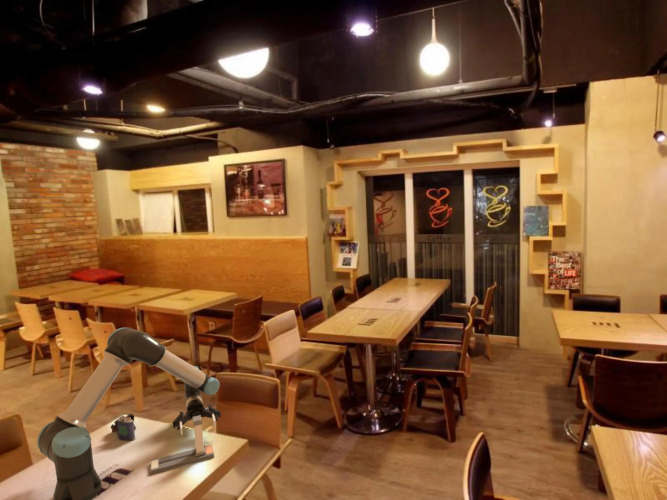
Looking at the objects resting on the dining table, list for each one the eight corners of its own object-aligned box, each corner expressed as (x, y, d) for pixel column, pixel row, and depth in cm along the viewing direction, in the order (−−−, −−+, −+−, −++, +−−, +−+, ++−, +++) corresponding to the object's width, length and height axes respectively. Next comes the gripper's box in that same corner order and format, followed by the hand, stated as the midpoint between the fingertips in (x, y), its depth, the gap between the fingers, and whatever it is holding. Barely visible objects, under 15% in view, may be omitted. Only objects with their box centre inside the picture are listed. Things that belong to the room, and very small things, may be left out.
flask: (136, 438, 191) (133, 416, 190) (131, 441, 188) (128, 419, 187) (121, 435, 194) (118, 413, 193) (116, 439, 191) (113, 416, 190)
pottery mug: (131, 437, 193) (119, 424, 191) (116, 444, 195) (104, 432, 193) (143, 418, 204) (132, 406, 202) (129, 425, 207) (118, 413, 204)
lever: (195, 456, 170) (192, 422, 169) (194, 449, 175) (191, 416, 174) (205, 453, 172) (202, 420, 170) (204, 446, 177) (201, 414, 176)
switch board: (150, 474, 163) (150, 470, 163) (151, 463, 170) (150, 459, 170) (214, 457, 172) (213, 453, 172) (211, 447, 179) (211, 444, 179)
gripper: (222, 408, 202) (229, 428, 183) (167, 420, 193) (168, 443, 173) (221, 393, 202) (227, 412, 182) (165, 405, 192) (166, 426, 173)
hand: (198, 427), depth 178 cm, fingers open, 13 cm apart
